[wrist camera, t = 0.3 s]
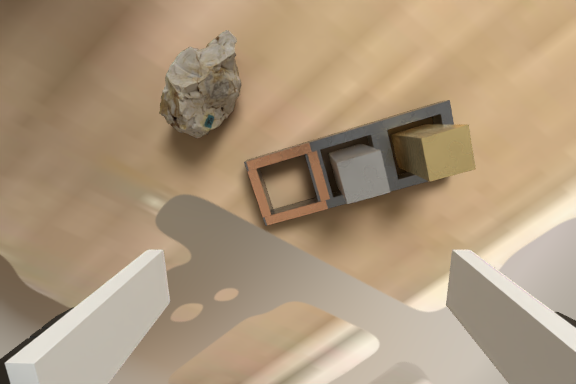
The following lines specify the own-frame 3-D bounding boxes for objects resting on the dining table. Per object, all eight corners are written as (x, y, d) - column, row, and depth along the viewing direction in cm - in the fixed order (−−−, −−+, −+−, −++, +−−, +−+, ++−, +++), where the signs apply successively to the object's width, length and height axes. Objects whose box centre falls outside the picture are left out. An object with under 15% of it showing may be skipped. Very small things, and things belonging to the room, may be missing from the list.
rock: (202, 155, 38) (179, 132, 29) (166, 122, 39) (131, 88, 29) (264, 93, 40) (263, 50, 30) (230, 61, 40) (217, 8, 30)
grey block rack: (247, 159, 40) (243, 162, 37) (439, 101, 37) (450, 99, 34) (267, 219, 41) (265, 226, 39) (451, 168, 38) (462, 172, 36)
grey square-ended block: (328, 153, 39) (336, 162, 29) (360, 143, 38) (380, 150, 29) (336, 184, 40) (347, 204, 30) (368, 175, 39) (390, 192, 30)
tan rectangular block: (390, 134, 38) (421, 138, 28) (425, 124, 37) (468, 124, 28) (397, 167, 39) (429, 181, 29) (431, 157, 38) (475, 169, 29)
